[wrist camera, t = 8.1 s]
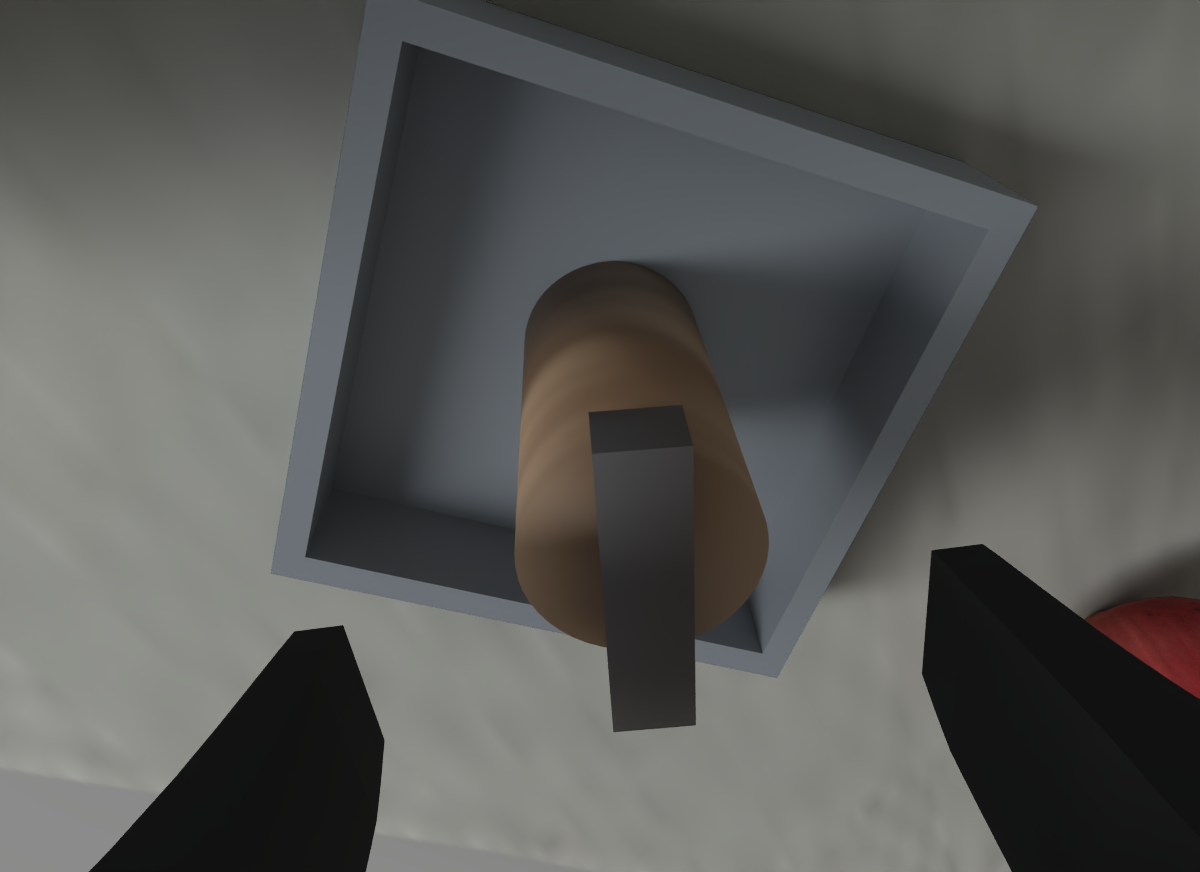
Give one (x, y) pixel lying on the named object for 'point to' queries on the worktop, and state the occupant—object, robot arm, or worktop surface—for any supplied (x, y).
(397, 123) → the bin
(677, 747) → the worktop surface
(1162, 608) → the onion
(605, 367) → the brown wooden cylinder
